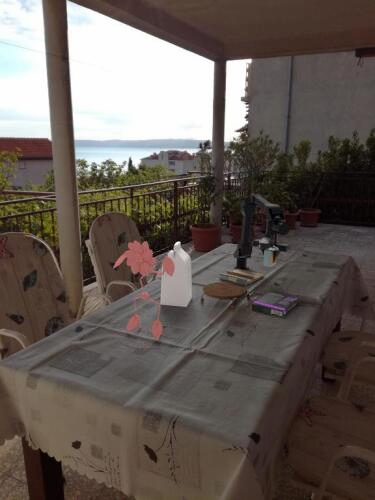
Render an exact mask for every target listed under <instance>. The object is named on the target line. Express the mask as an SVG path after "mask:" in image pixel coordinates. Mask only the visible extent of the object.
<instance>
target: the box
mask: <svg viewBox="0 0 375 500" xmlns="http://www.w3.org/2000/svg"><path fill="white" fill-rule="evenodd" d="M299 300H300V298H299V297H296V296H292V295H288V294H284V293H283V294H282V293H279V292H275V291H274V292H273V291H271V290H270V291H268V292H266V293H264V294H263V295H261V296H260V297H258V298H257V299H256V300H254V301H253V302H252V303H251V310H253V311H257V312H260V311H261V313H264V312H265V314H268V313H271V314H270V315H272V314H276V315H280V316H283V315H284V314H286V313H287V312H288V311H289V310H290V309H291V308H292V307H293V306H294V305H295V304H296V303H297V302H298V303H299ZM294 307H295V306H294ZM294 307H293V308H294ZM293 308H292V309H293ZM292 309H291V310H292ZM291 310H290V311H291ZM290 311H289V312H290ZM289 312H288V313H289ZM288 313H287V314H288ZM287 314H286V315H287ZM276 315H275V316H276ZM280 316H279V317H280ZM284 316H285V315H284ZM284 316H283V317H284Z"/></svg>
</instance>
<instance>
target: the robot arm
mask: <svg viewBox="0 0 375 500" xmlns="http://www.w3.org/2000/svg"><path fill="white" fill-rule="evenodd" d="M239 205H240V212H241V214H242V221H241V232H240V233H241V235H240V241H239V242H238V244H237V246H236V249H235V250H234V252H233V258H234V259H236V265H235V266H234V267H233V268H234V269H235V270H236V269H241V270H245V271H246V270H247V269H250V267H249V266H248V259H251V258H252V254H253V248H254V247H256V248H257V247H258V249H259V250H260V251H261V253H262V255H263V257H264V250H266V249H269V248H272V249H275V250H273V252H274V256H273V263H275V261H276V262H277V259H278V257H279V255H280V254H281V252H283V253H286V252H289V251H291V250H292V245H291V244H289V243H280V244H279V241H278V237H279V236H286V235H287V234H289V232H290V230H291V229H290V226H289V224H288V223H287V220H286V216H285V214H284V211H283V209H282V207H281V205H278V204H276V203H271V202H270V201H268V200H267V199H265V198H264V197H263V196H262V195H261V194H259V193H257V194H251V195H249V196H247V197H246V198H244V199H242V200H241V201H240V203H239ZM257 207H258V208H260V209H261V210H262V211H263V214H264V215H265V216H266V218H265V219H264V222H266V230H265V233H264V236H263V237H262V238H261V239H260V238H259V239H258V238H257V239H253V240H252V241H250V240H251V231H252V220H253V216H254V214H255V213H256V210H257Z"/></svg>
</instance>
